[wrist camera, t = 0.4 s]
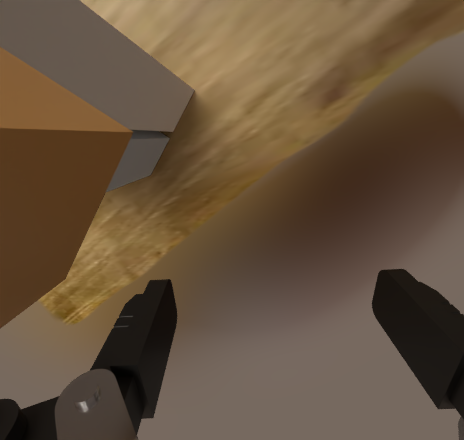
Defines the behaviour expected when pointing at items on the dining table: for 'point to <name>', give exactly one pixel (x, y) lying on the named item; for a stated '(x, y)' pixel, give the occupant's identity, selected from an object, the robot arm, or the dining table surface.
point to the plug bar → (47, 180)
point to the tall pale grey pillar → (93, 62)
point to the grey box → (139, 157)
